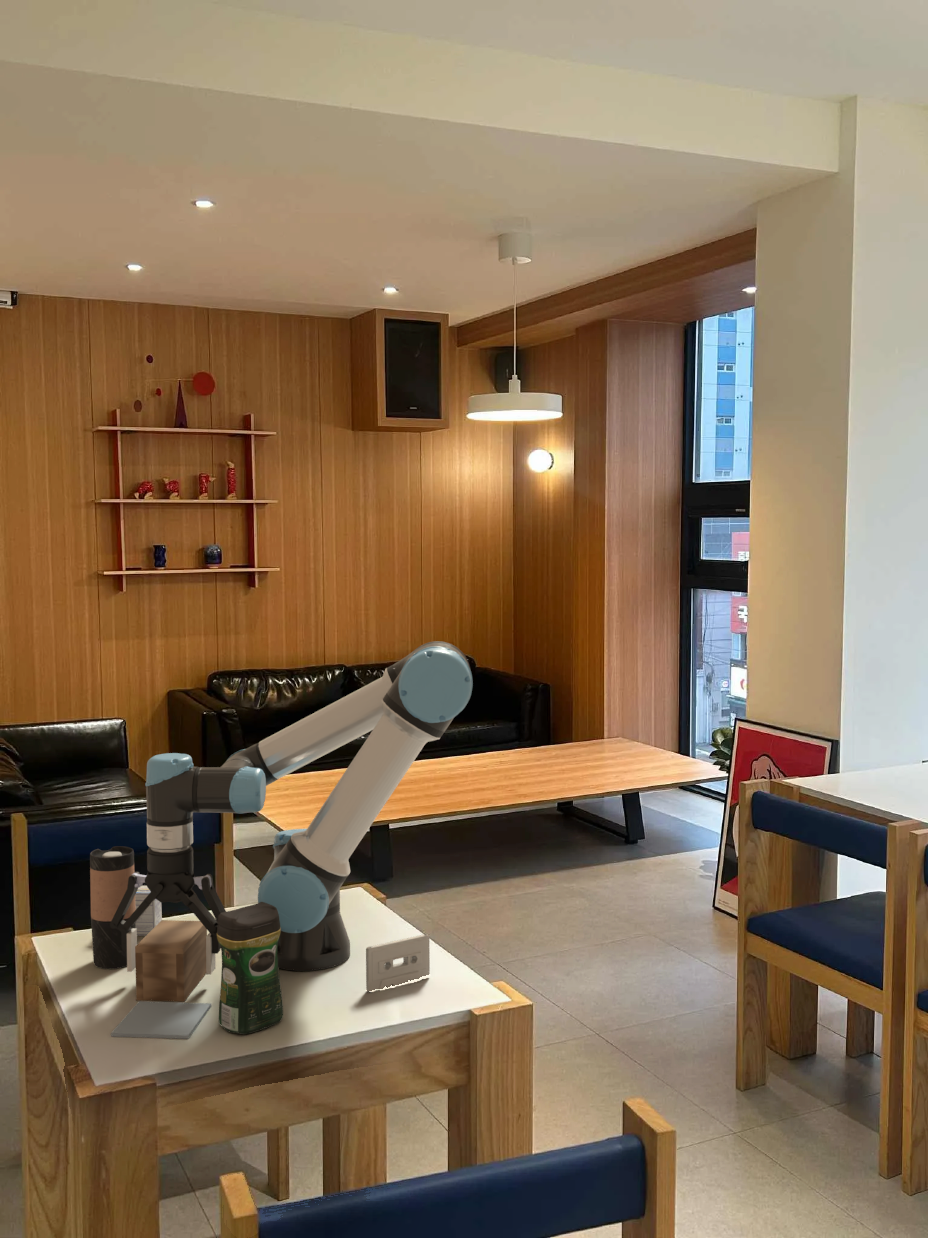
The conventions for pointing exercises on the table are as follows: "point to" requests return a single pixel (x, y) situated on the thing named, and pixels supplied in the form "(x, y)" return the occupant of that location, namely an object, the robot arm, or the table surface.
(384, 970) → the cassette
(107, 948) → the travel mug
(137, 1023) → the slate mat
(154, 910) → the medicine box
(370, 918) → the table surface
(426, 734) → the robot arm
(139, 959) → the tan rectangular box
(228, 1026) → the coffee jar
